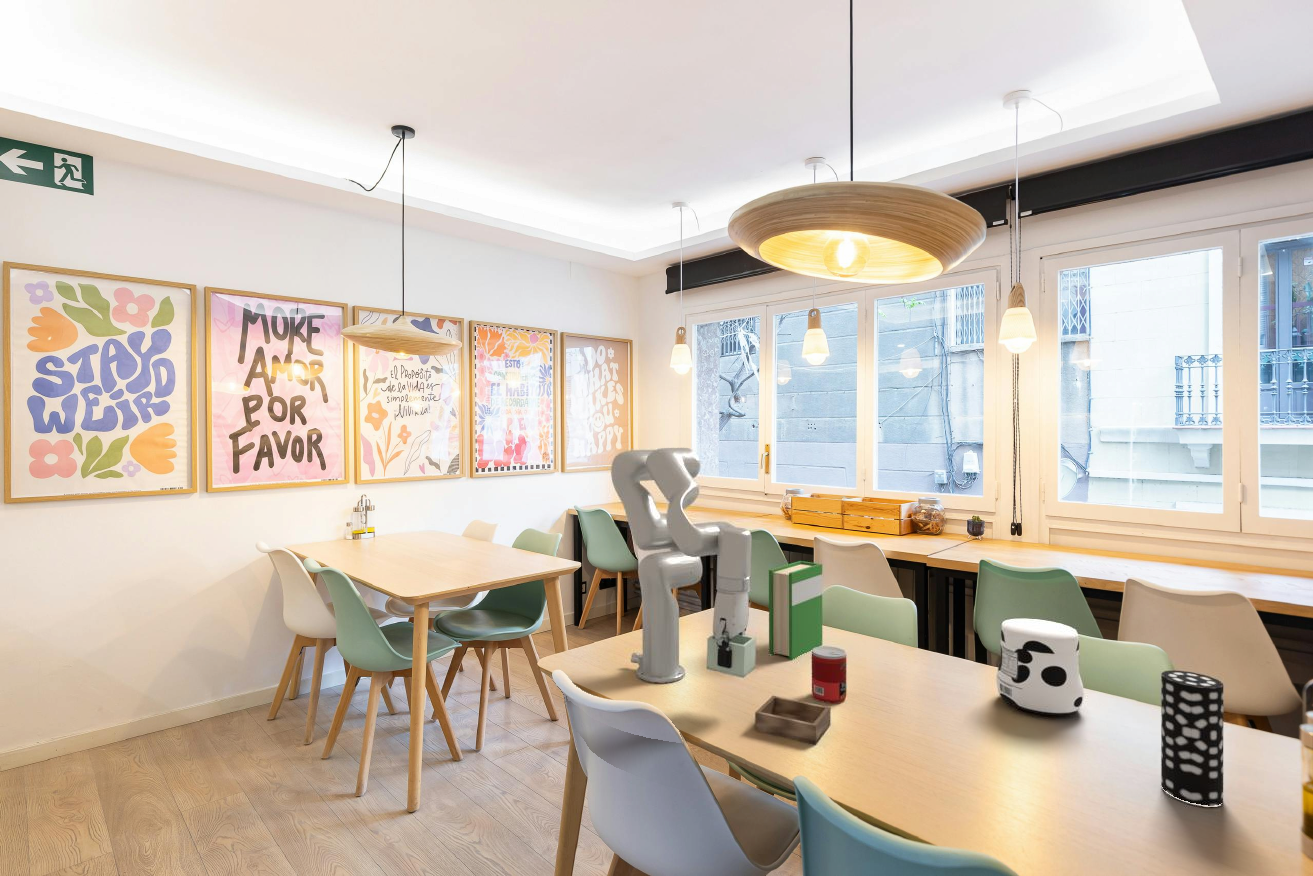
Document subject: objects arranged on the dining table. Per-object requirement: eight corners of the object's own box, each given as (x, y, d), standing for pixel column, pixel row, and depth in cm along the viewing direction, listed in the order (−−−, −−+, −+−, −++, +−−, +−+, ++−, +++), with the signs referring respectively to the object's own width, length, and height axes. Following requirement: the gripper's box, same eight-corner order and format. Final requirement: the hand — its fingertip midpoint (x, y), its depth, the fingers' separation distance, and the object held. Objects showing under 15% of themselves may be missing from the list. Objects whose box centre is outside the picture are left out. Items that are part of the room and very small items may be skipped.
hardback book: (792, 660, 183) (791, 573, 183) (769, 654, 188) (768, 570, 188) (822, 645, 196) (822, 564, 196) (800, 640, 201) (799, 561, 201)
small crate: (706, 668, 149) (707, 638, 149) (718, 659, 155) (719, 630, 154) (743, 678, 145) (744, 646, 144) (754, 668, 150) (756, 637, 150)
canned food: (847, 705, 153) (847, 657, 153) (812, 702, 154) (812, 655, 154) (845, 692, 160) (845, 647, 160) (811, 690, 162) (811, 645, 162)
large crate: (755, 730, 140) (755, 712, 140) (772, 712, 149) (772, 695, 149) (815, 744, 133) (815, 726, 133) (830, 725, 142) (830, 707, 142)
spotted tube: (1149, 783, 118) (1149, 671, 118) (1192, 781, 119) (1192, 669, 119) (1190, 809, 110) (1190, 689, 110) (1236, 807, 110) (1237, 687, 110)
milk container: (1091, 705, 152) (1090, 626, 152) (1074, 729, 140) (1074, 644, 139) (1008, 685, 164) (1008, 613, 164) (986, 707, 151) (986, 628, 151)
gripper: (733, 573, 158) (731, 646, 159) (701, 589, 143) (698, 670, 144) (763, 577, 154) (760, 653, 155) (733, 594, 139) (730, 678, 140)
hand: (731, 661), depth 150 cm, fingers closed on small crate, 6 cm apart
